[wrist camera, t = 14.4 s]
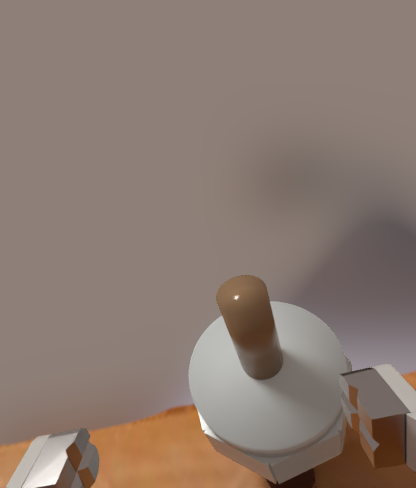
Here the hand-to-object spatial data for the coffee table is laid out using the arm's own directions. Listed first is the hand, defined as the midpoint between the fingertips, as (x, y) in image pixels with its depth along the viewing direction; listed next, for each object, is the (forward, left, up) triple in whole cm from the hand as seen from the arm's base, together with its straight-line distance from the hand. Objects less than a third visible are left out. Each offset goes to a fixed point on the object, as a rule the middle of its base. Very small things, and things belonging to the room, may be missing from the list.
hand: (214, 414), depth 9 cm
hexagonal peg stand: (+6, +16, -17) cm, 24 cm away
